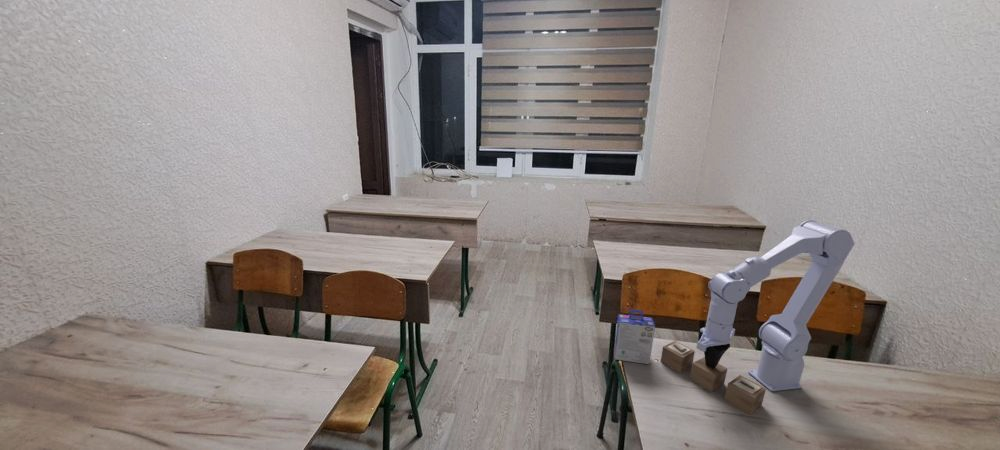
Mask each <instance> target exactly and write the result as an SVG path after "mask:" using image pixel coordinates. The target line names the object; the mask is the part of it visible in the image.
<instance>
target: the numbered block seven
mask: <svg viewBox="0 0 1000 450" xmlns="http://www.w3.org/2000/svg"><path fill="white" fill-rule="evenodd" d="M695 351H696V350H694V349H692V348H690V347H688V346H687V345H684V344H683V343H680V342H679V341H677V340H674V341H672V342H670V343H668V344H665V345H664V346H662V351H661V358H660V363H662V364H664V365H666V366H667V367H669V368H671V369H673V370H674V371H676V372H678V373H679V374H681V373H682V372H684V371H686V370H688V369H689V368H692V364H693V363H694V357H695V353H696V352H695Z"/></svg>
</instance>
